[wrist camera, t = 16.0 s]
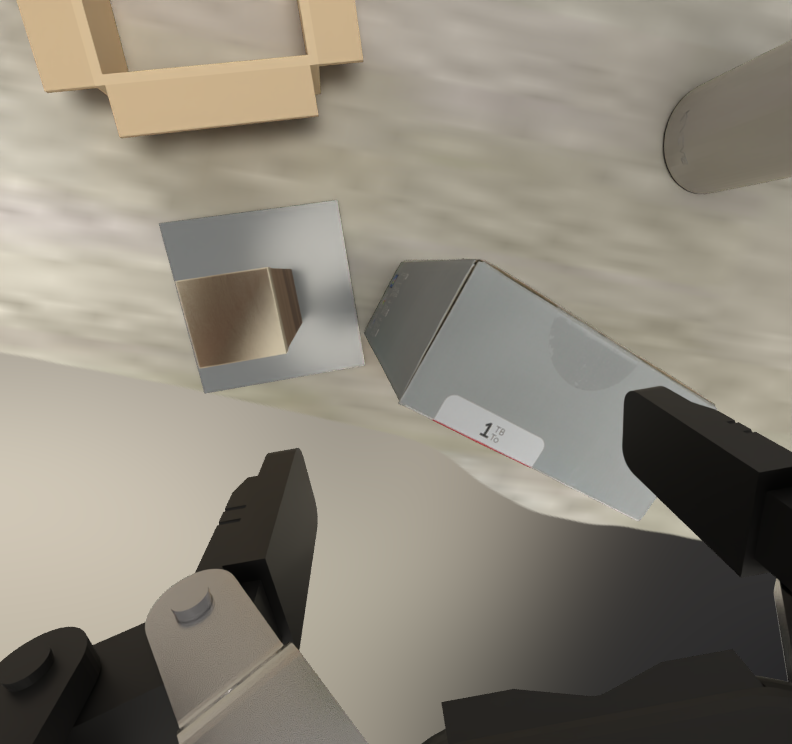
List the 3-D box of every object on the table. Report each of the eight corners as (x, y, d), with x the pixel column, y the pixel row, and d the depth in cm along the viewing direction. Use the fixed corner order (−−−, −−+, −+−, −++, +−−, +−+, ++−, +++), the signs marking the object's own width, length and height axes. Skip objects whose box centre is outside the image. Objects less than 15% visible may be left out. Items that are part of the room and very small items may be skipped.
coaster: (337, 201, 35) (337, 200, 35) (364, 364, 39) (365, 365, 38) (161, 224, 34) (158, 223, 33) (206, 391, 37) (204, 393, 37)
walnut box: (292, 268, 35) (267, 267, 22) (303, 322, 37) (286, 353, 23) (235, 277, 35) (175, 280, 22) (248, 332, 36) (199, 368, 23)
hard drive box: (360, 335, 38) (389, 400, 19) (402, 258, 37) (477, 245, 18) (500, 409, 42) (643, 526, 23) (542, 340, 41) (728, 403, 22)
